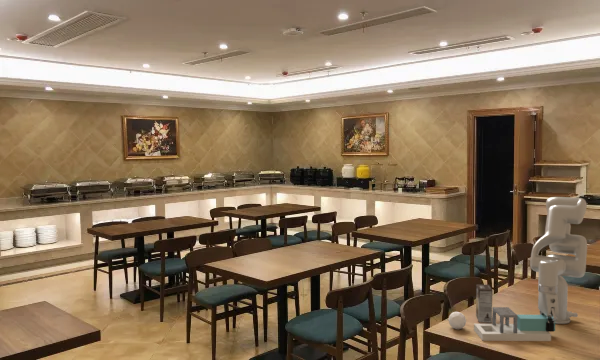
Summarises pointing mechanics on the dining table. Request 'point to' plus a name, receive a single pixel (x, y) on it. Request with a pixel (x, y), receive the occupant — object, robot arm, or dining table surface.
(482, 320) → the coffee box
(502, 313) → the tunnel
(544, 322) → the block
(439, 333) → the dining table surface
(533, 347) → the dining table surface
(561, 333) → the dining table surface
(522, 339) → the white base plate
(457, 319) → the geometric ball
